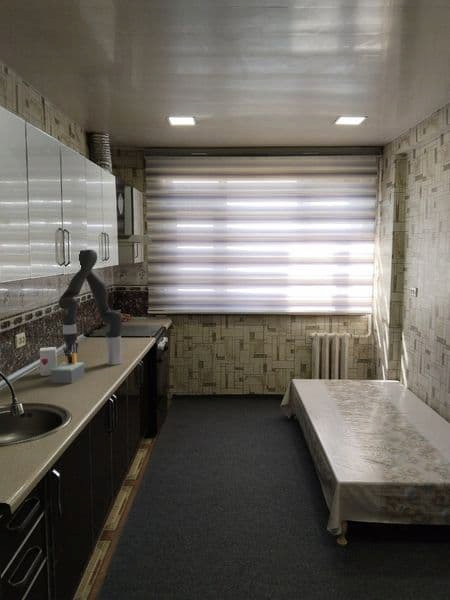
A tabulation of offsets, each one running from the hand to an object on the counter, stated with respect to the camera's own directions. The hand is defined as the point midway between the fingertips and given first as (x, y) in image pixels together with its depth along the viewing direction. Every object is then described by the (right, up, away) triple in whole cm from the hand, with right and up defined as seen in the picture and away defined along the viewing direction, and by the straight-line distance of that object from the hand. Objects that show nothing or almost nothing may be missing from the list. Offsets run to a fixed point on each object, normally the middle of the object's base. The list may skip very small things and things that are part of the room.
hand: (71, 362), depth 293 cm
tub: (-1, -9, -4) cm, 10 cm away
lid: (-1, -3, -5) cm, 6 cm away
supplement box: (-16, -8, +11) cm, 21 cm away
